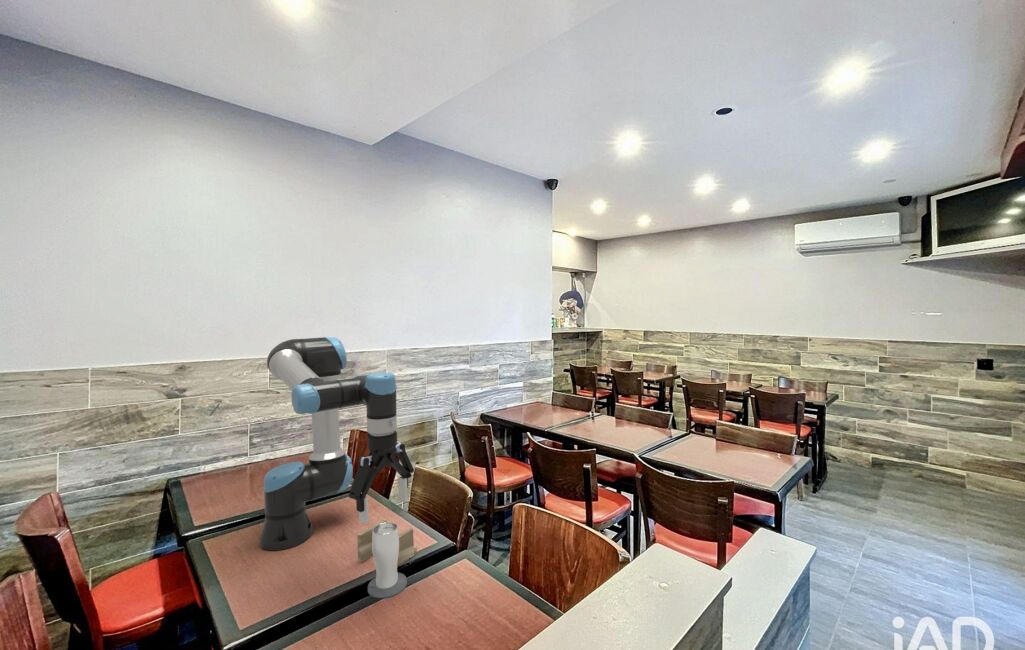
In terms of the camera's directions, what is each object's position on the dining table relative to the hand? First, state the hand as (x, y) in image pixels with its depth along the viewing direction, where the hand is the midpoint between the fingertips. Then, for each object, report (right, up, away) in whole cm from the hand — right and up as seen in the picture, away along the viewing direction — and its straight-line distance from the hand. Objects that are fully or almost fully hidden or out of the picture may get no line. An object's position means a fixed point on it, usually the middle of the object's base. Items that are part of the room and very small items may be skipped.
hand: (384, 511), depth 113 cm
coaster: (+1, -20, 0) cm, 20 cm away
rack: (-3, -20, +13) cm, 24 cm away
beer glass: (+1, -20, 0) cm, 20 cm away
